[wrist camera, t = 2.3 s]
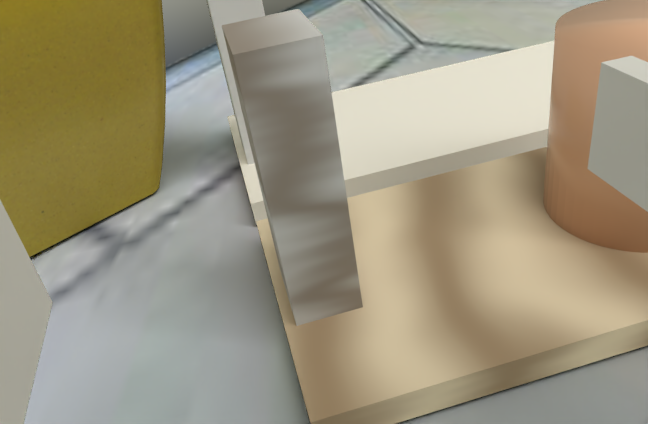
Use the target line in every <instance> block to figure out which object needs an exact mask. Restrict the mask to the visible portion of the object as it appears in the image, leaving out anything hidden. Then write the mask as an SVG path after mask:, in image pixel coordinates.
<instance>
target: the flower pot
mask: <svg viewBox="0 0 648 424" xmlns="http://www.w3.org/2000/svg"><path fill="white" fill-rule="evenodd" d="M165 100H166V73H165V44H164V27H163V13H162V0H0V200H1V202H2V204H3V206H4V208H5V210H6V212H7V214H8V216H9V218H10V220H11V222H12V224H13V226H14V228H15V230H16V232H17V234H18V236H19V238H20V239H21V241H22V243H23V245H24V247H25V249H26V251H27V253H28V255H29V257H31V256H33V255H35V254H37V253H39V252H41V251H43V250H44V249H46V248H48V247H50V246H52V245H54V244H56V243H58V242H60V241H62V240H64V239H66V238H68V237H70V236H72V235H74V234H76V233H77V232H79V231H81V230H83V229H85V228H87V227H89V226H91V225H93V224H95V223H97V222H99V221H101V220H103V219H105V218H107V217H109V216H110V215H112V214H114V213H116V212H118V211H120V210H122V209H124V208H126V207H128V206H130V205H132V204H133V203H135V202H137V201H139V200H141V199H143V198H145V197H147V196H149V195H151V194H153V193H154V192H155V191H157V189H158V188H159V184H160V177H161V170H162V160H163V144H164V130H165Z"/></svg>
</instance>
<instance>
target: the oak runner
mask: <svg viewBox="0 0 648 424" xmlns="http://www.w3.org/2000/svg"><path fill="white" fill-rule="evenodd" d="M222 29H223V33H224V38H225V42H226V46H227V50H228V54H229V59H230V63H231V67H232V71H233V75H234V79H235V84H236V88H237V92H238V96H239V100H240V105H241V109H242V113H243V117H244V121H245V125H246V130H247V134H248V138H249V142H250V146H251V150H252V155H253V159H254V163H255V167H256V171H257V176H258V180H259V184H260V188H261V192H262V196H263V201H264V205H265V209H266V213H267V217H268V218H267V219H263V220H259V221H256V223H257V227H258V231H259V235H260V239H261V242H262V246H263V250H264V254H265V257H266V261H267V265H268V268H269V272H270V276H271V279H272V283H273V287H274V291H275V294H276V298H277V302H278V305H279V309H280V313H281V316H282V320H283V324H284V328H285V331H286V335H287V339H288V342H289V346H290V350H291V353H292V357H293V361H294V365H295V368H296V372H297V376H298V379H299V383H300V387H301V391H302V394H303V398H304V402H305V405H306V409H307V413H308V416H309V420H310V424H396V423H399V422H402V421H405V420H409V419H412V418H415V417H418V416H422V415H425V414H428V413H431V412H434V411H438V410H441V409H444V408H447V407H451V406H454V405H457V404H460V403H464V402H467V401H470V400H473V399H476V398H480V397H483V396H486V395H489V394H493V393H496V392H499V391H502V390H505V389H509V388H512V387H515V386H518V385H522V384H525V383H528V382H531V381H534V380H538V379H541V378H544V377H547V376H551V375H554V374H557V373H560V372H563V371H567V370H570V369H573V368H576V367H580V366H583V365H586V364H589V363H593V362H596V361H599V360H602V359H605V358H609V357H612V356H615V355H618V354H622V353H625V352H628V351H631V350H634V349H638V348H641V347H644V346H647V345H648V253H640V252H628V251H622V250H615V249H611V248H606V247H602V246H599V245H596V244H592V243H590V242H587V241H585V240H582V239H580V238H578V237H576V236H574V235H572V234H570V233H568V232H567V231H565V230H563V229H562V228H561V227H560V226H558V225H557V224H556V223H555V222H554V221H553V220H552V219H551V218H550V217H549V215H548V214H547V212H546V210H545V207H544V203H543V196H544V182H545V168H546V154H547V147H544V148H540V149H536V150H532V151H528V152H524V153H520V154H516V155H512V156H509V157H505V158H501V159H497V160H493V161H489V162H485V163H481V164H477V165H473V166H470V167H466V168H462V169H458V170H454V171H450V172H446V173H442V174H438V175H434V176H431V177H427V178H423V179H419V180H415V181H411V182H407V183H403V184H399V185H396V186H392V187H388V188H384V189H380V190H376V191H372V192H368V193H364V194H360V195H357V196H353V197H349V198H347V195H346V188H345V181H344V175H343V168H342V161H341V154H340V147H339V140H338V134H337V127H336V120H335V113H334V106H333V99H332V93H331V86H330V79H329V72H328V65H327V58H326V52H325V45H324V38H323V34H322V33H321V32H320V31H319V30H318V29H317V28H316V27H315V26H314V25H313V24H312V23H311V22H310V21H309V20H308V18H307V17H306V16H305V15H304V14H303V13H302V12H301V11H300V10H299V9H296V10H291V11H286V12H282V13H277V14H272V15H268V16H263V17H258V18H253V19H249V20H244V21H239V22H235V23H230V24H225V25H222Z"/></svg>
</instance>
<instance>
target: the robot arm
mask: <svg viewBox="0 0 648 424" xmlns="http://www.w3.org/2000/svg"><path fill="white" fill-rule="evenodd" d="M588 170H590V171H591V172H593V173H594V174H595V175H597V176H598V177H600V178H601V179H602V180H604V181H605V182H607V183H608V184H609V185H611V186H612V187H614V188H615V189H616V190H618V191H619V192H621V193H622V194H623V195H625V196H626V197H628V198H629V199H630V200H632V201H633V202H635V203H636V204H637V205H639V206H640V207H642V208H643V209H644V210H646V211H647V212H648V62H646V61H644V60H641V59H639V58H636V57H634V56H628V57H623V58H619V59H614V60H610V61H605V62H601V69H600V76H599V84H598V92H597V100H596V107H595V115H594V123H593V130H592V138H591V146H590V154H589V161H588ZM52 303H53V302H52V300H51V298H50V297H49V295H48V293H47V291H46V289H45V287H44V285H43V283H42V281H41V279H40V277H39V275H38V273H37V271H36V269H35V267H34V265H33V263H32V261H31V259H30V257H29V255H28V253H27V251H26V249H25V247H24V245H23V243H22V241H21V239H20V238H19V236H18V234H17V232H16V230H15V228H14V226H13V224H12V222H11V220H10V218H9V216H8V214H7V212H6V210H5V208H4V206H3V204H2V202H1V200H0V424H24V420H25V416H26V411H27V407H28V403H29V399H30V395H31V391H32V387H33V382H34V378H35V374H36V370H37V366H38V362H39V357H40V353H41V349H42V345H43V341H44V337H45V333H46V328H47V324H48V320H49V316H50V312H51V308H52Z"/></svg>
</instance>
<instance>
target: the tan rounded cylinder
mask: <svg viewBox="0 0 648 424" xmlns="http://www.w3.org/2000/svg"><path fill="white" fill-rule="evenodd" d="M628 56H634V57H636V58H639V59H641V60H644V61H646V62H648V0H604V1H599V2H595V3H591V4H588V5H584V6H581V7H578V8H576V9H573V10H571V11H569V12H567V13H566V14H564V15H563V16H561V17H560V18H559V19H558V21H557V22H556V27H555V41H554V55H553V69H552V83H551V97H550V111H549V126H548V140H547V154H546V168H545V182H544V196H543V203H544V207H545V210H546V212H547V214H548V215H549V217H550V218H551V219H552V220H553V221H554V222H555V223H556V224H557V225H558V226H560V227H561V228H562V229H563V230H565V231H567V232H568V233H570V234H572V235H574V236H576V237H578V238H580V239H582V240H585V241H587V242H590V243H592V244H596V245H599V246H602V247H606V248H611V249H615V250H622V251H628V252H640V253H648V212H647V211H646V210H644V209H643V208H642V207H640V206H639V205H637V204H636V203H635V202H633V201H632V200H630V199H629V198H628V197H626V196H625V195H623V194H622V193H621V192H619V191H618V190H616V189H615V188H614V187H612V186H611V185H609V184H608V183H607V182H605V181H604V180H602V179H601V178H600V177H598V176H597V175H595V174H594V173H593V172H591V171H590V170H588V161H589V154H590V146H591V138H592V130H593V123H594V115H595V107H596V100H597V92H598V84H599V76H600V69H601V62H605V61H610V60H614V59H619V58H623V57H628Z"/></svg>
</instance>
